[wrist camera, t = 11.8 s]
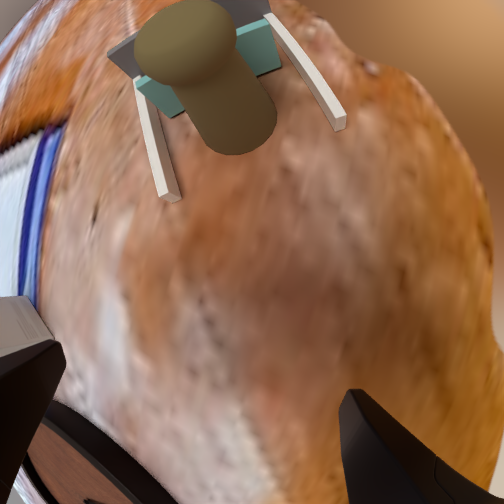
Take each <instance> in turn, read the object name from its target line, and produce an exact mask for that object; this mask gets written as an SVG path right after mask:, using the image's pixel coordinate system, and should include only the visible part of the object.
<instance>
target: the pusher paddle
mask: <svg viewBox="0 0 504 504" xmlns="http://www.w3.org/2000/svg"><path fill="white" fill-rule="evenodd" d="M236 31H237V41H236V46H235V48H236V49H237V50H238V52H239V53H240V54H241V56H242V57H243V59H244V60H245V61H246V63H247V64H248V66H249V67H250V68H251V70H252V71H253V73H254V74H255V76H258V75H260V74H263V73H265V72H268V71H270V70H273V69H276V68H278V67H281V63H280V59H279V55H278V52H277V48H276V45H275V41H274V38H273V34H272V31H271V28H270V24H269V23H268V22H267V20H266V19H262V20H259V21H256V22H253V23H251V24H248V25H245V26H243V27H240V28H238V29H236ZM135 84H136V89H137V90H138V91H139V92H141V93H142V94H143V95H144V96H145V97H146V98H147V99H148V100H150V101H151V102H152V103H153V104H154V105H155V106H156V107H157V108H159V109H160V110H161V111H162V112H163V113H164V114H165V115H166V116H167V117H168V118H171V117H173V116H175V115H176V114H178V113H180V112H182V111H184V110H185V109H184V107H183V106H182V104H181V103H180V101H179V99H178V98H177V96H176V94H175V93H174V91H173V90H172V88H171V86H170V85H163V84H161V83H159V82H157V81H155V80H153V79H151V78H149V77H148V76H147V75H145V76H144V77H142V78H140V79H139V80H137V81H136V82H135Z"/></svg>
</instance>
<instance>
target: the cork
mask: <svg viewBox="0 0 504 504" xmlns="http://www.w3.org/2000/svg"><path fill="white" fill-rule="evenodd" d="M236 41H237V31H236V28H235V25H234V22H233V20H232V18H231V15H230V14H229V13H228V12H227V11H226V10H225V9H224V8H223V7H222V6H220V5H219V4H217V3H215V2H213V1H210V0H185V1H181V2H178V3H175V4H172V5H170V6H168V7H166V8H164V9H162V10H161V11H159V12H158V13H156V14H155V15H154V16H153V17H151V18H150V19H149V20H148V21H147V22H146V23H145V25H144V26H143V27H142V28H141V30H140V31H139V32H138V34H137V36H136V39H135V41H134V57H135V59H136V61H137V63H138V65H139V67H140V69H141V71H142V72H143V73H144V74H145V75H147V76H148V77H149V78H151V79H153V80H155V81H157V82H159V83H161V84H163V85H170V86H171V88H172V90H173V91H174V93H175V94H176V96H177V98H178V99H179V101H180V103H181V104H182V106H183V107H184V109H185V111H186V112H187V114H188V115H189V117H190V119H191V120H192V122H193V124H194V125H195V127H196V129H197V130H198V132H199V133H200V135H201V137H202V138H203V140H204V141H205V143H206V145H207V146H208V147H210V148H211V149H212V150H214V151H215V152H218V153H221V154H225V155H240V154H243V153H246V152H250V151H252V150H254V149H255V148H257V147H259V146H260V145H262V144H263V143H264V142H265V141H266V140H267V139H268V138H269V136H270V135H271V134H272V132H273V130H274V127H275V125H276V120H277V111H276V108H275V105H274V103H273V101H272V100H271V98H270V96H269V95H268V93H267V92H266V90H265V89H264V87H263V86H262V84H261V83H260V81H259V80H258V78H257V77H256V76H255V74H254V73H253V71H252V70H251V68H250V67H249V66H248V64H247V63H246V61H245V60H244V59H243V57H242V56H241V54H240V53H239V52H238V50H237V49H236V48H235V46H236Z"/></svg>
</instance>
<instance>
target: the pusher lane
mask: <svg viewBox="0 0 504 504" xmlns="http://www.w3.org/2000/svg"><path fill="white" fill-rule="evenodd" d="M210 1H213V2H215V3H217V4H219V5H220V6H222V7H223V8H224V9H225V10H226V11H227V12H228V13H229V14H230V15H231V18H232V20H233V22H234V25H235V28H236V29H238V28H240V27H243V26H245V25H248V24H251V23H253V22H256V21H259V20H262V19H266V20H267V22H268V23H269V24H270V28H271V31H272V34H273V37H274V38H275V40H276V41H277V42H278V44H279V45H280V46H281V48H282V49H283V50H284V52H285V53H286V55H287V56H288V58H289V59H290V60H291V62H292V63H293V65H294V66H295V68H296V69H297V71H298V72H299V74H300V75H301V77H302V78H303V80H304V81H305V83H306V84H307V86H308V87H309V89H310V91H311V92H312V94H313V95H314V97H315V99H316V100H317V102H318V103H319V105H320V107H321V108H322V110H323V112H324V114H325V115H326V117H327V119H328V120H329V122H330V124H331V126H332V127H333V129H334V131H335V132H337V131H340V130H342V129H345V125H346V117H347V114H346V113H345V111H344V109H343V108H342V106H341V105H340V103H339V101H338V100H337V98H336V97H335V95H334V94H333V92H332V90H331V89H330V87H329V86H328V84H327V83H326V82H325V80H324V79H323V77H322V76H321V74H320V73H319V71H318V70H317V69H316V67H315V66H314V64H313V63H312V62H311V60H310V59H309V58H308V56H307V55H306V54H305V52H304V51H303V50H302V48H301V47H300V46H299V44H298V43H297V42H296V41H295V39H294V38H293V37H292V36H291V34H290V33H289V32H288V31H287V30H286V28H285V27H284V26H283V25H282V24H281V22H280V21H279V20H278V19H277V18H276V17H275V15H274V14H273V13H272V11H271V8H270V5H269V1H268V0H210ZM139 31H140V30H139ZM139 31H138V32H139ZM138 32H136V33H134V34H133V35H131V36H130V37H128V38H127V39H125V40H124V41H122V42H121V43H119V44H118V45H117V46H115V47H114V48H112V49H111V50H109V51H108V52H107V57H108V58H109V59H110V60H111V61H112V62H114V63H115V64H116V65H117V66H118V67H119V68H120V69H122V70H123V71H124V72H125V73H126V74H127V75H128V76H129V77H131V78H132V79H133V84H134V89H135V95H136V100H137V105H138V110H139V115H140V120H141V125H142V129H143V134H144V138H145V143H146V147H147V152H148V156H149V160H150V164H151V168H152V172H153V176H154V180H155V184H156V188H157V192H158V195H159V197H160V198H162V199H164V200H167V201H169V202H171V203H174V202H176V201H178V200H180V199H182V197H181V194H180V191H179V187H178V184H177V181H176V177H175V174H174V170H173V167H172V163H171V160H170V156H169V153H168V149H167V146H166V142H165V138H164V135H163V131H162V127H161V123H160V119H159V116H158V112H157V108H156V106H155V105H154V104H153V103H152V102H151V101H150V100H148V99H147V98H146V97H145V96H144V95H143V94H142V93H141V92H139V91H138V90H137V89H136V84H135V82H136V81H137V80H139V79H140V78H142V77H144V76H145V74H144V73H143V72H142V71H141V69H140V67H139V65H138V63H137V61H136V59H135V57H134V41H135V39H136V36H137V34H138Z"/></svg>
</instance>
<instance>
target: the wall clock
mask: <svg viewBox="0 0 504 504" xmlns="http://www.w3.org/2000/svg"><path fill="white" fill-rule="evenodd" d="M21 467H22V468H23V470H24V472H25V474H26V476H27V477H28V479H29V481H30V482H31V484H32V485H33V487H34V488H35V490H36V491H37V492H38V494H39V495H40V496H41V498H42V499H43V500H44V501H45V503H46V504H178V503H177V502H176V501H175V500H174V499H173V497H172V496H171V495H170V494H169V493H168V492H167V491H166V490H165V489H164V488H163V487H162V486H161V485H160V484H159V483H158V481H157V480H156V479H155V478H153V477H152V476H151V475H150V474H149V473H148V472H147V471H146V470H145V469H144V468H143V467H142V466H141V465H140V464H139V463H138V462H137V461H136V460H135V459H134V458H133V457H131V456H130V455H129V454H128V453H127V452H126V451H125V450H124V449H123V448H121V447H120V446H119V445H118V444H117V443H116V442H115V441H113V440H112V439H111V438H110V437H109V436H107V435H106V434H105V433H104V432H103V431H101V430H100V429H99V428H98V427H96V426H95V425H94V424H92V423H91V422H90V421H88V420H87V419H86V418H84V417H83V416H81V415H80V414H79V413H77V412H75V411H74V410H72V409H71V408H69V407H67V406H65V405H63V404H61V403H59V402H57V401H55V400H52V401H51V403H50V405H49V407H48V409H47V411H46V413H45V415H44V417H43V419H42V421H41V423H40V425H39V427H38V429H37V431H36V433H35V435H34V437H33V439H32V442H31V444H30V446H29V448H28V450H27V452H26V455H25V457H24V459H23V462H22V464H21Z"/></svg>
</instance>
